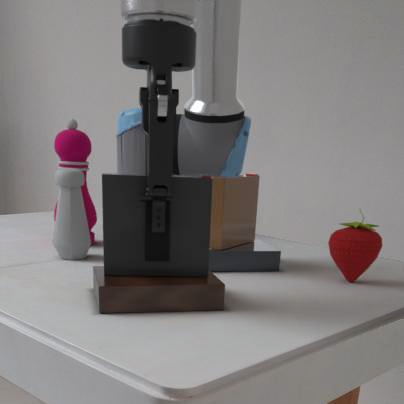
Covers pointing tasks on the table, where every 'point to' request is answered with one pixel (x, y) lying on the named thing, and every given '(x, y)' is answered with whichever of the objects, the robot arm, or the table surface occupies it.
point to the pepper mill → (76, 164)
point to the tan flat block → (233, 210)
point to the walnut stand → (156, 293)
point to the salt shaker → (71, 216)
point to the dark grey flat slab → (135, 226)
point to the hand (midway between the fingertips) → (156, 257)
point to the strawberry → (354, 248)
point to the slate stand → (245, 258)
